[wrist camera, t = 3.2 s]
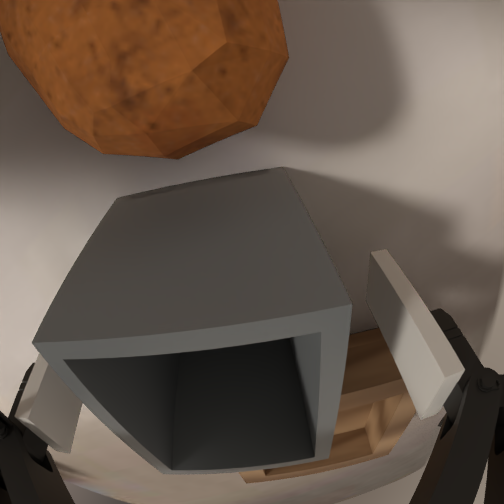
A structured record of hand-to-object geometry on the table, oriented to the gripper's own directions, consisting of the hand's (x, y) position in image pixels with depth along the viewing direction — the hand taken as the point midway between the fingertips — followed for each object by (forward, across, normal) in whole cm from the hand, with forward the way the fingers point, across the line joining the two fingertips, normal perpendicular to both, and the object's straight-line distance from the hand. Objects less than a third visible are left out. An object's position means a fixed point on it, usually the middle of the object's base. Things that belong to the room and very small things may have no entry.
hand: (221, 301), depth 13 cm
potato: (+2, -1, +13) cm, 13 cm away
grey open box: (+2, 0, 0) cm, 2 cm away
